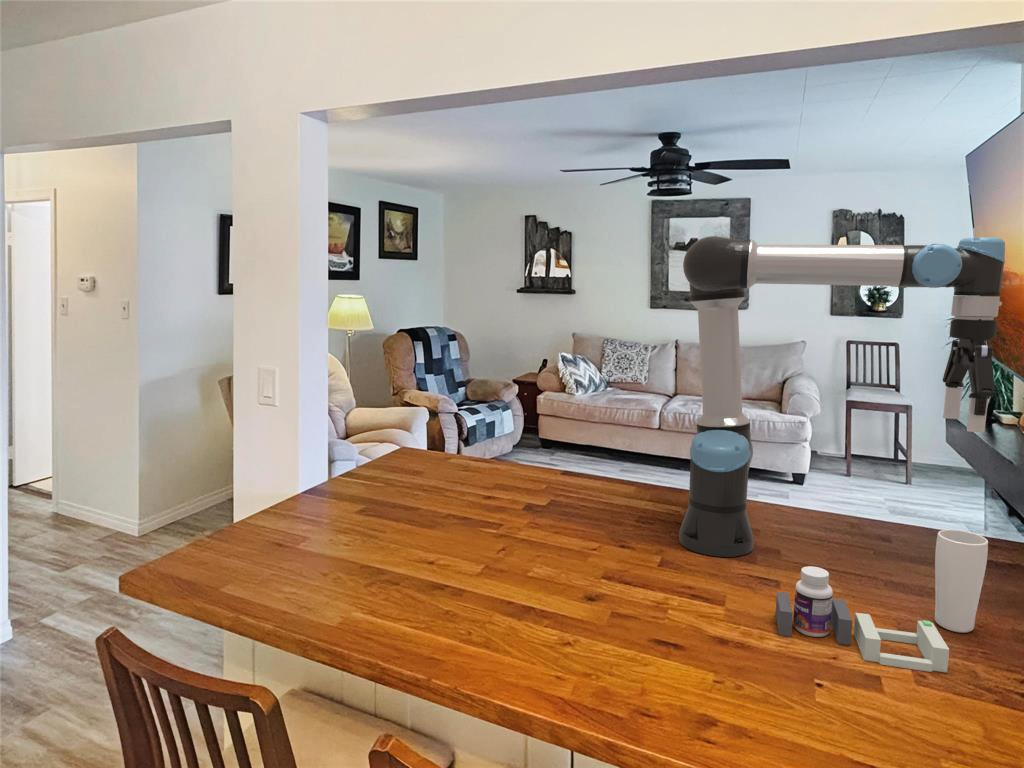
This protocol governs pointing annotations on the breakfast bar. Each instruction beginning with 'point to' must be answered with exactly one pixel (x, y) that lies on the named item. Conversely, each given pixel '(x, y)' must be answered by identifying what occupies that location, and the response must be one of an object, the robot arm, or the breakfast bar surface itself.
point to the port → (924, 638)
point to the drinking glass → (958, 578)
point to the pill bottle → (813, 602)
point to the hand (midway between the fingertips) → (962, 424)
